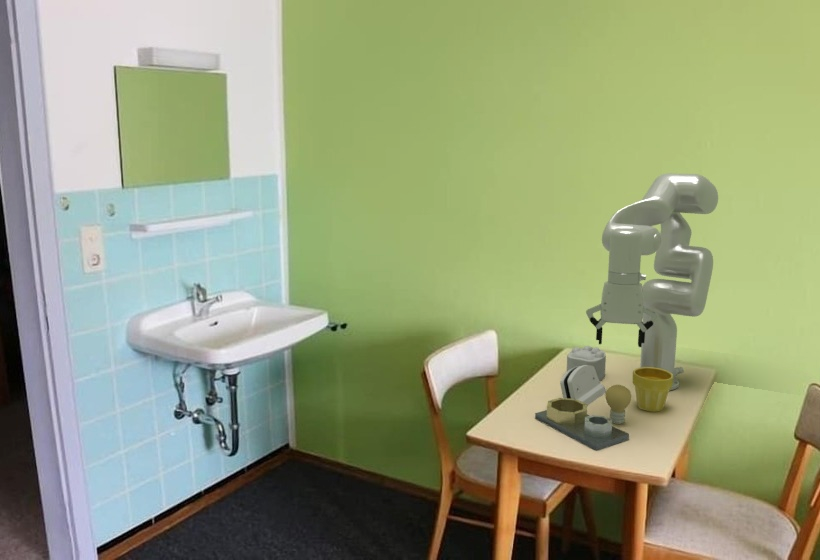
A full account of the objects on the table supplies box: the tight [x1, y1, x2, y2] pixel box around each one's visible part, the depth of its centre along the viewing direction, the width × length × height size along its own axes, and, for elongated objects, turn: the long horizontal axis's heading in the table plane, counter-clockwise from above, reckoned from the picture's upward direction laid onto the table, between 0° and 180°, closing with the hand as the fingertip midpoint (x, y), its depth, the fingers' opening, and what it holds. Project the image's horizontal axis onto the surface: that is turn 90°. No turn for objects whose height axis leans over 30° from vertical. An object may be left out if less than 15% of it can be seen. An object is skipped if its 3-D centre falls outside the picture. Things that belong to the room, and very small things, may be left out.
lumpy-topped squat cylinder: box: [566, 345, 607, 382], centre depth 214 cm, size 10×13×9 cm
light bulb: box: [605, 384, 632, 425], centre depth 180 cm, size 6×6×10 cm
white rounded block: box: [559, 365, 607, 407], centre depth 197 cm, size 17×5×10 cm, turn 141°
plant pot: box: [632, 367, 673, 413], centre depth 189 cm, size 10×10×10 cm
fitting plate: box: [534, 397, 630, 451], centre depth 177 cm, size 11×22×4 cm, turn 31°
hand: (619, 344), depth 177 cm, fingers open, 9 cm apart
